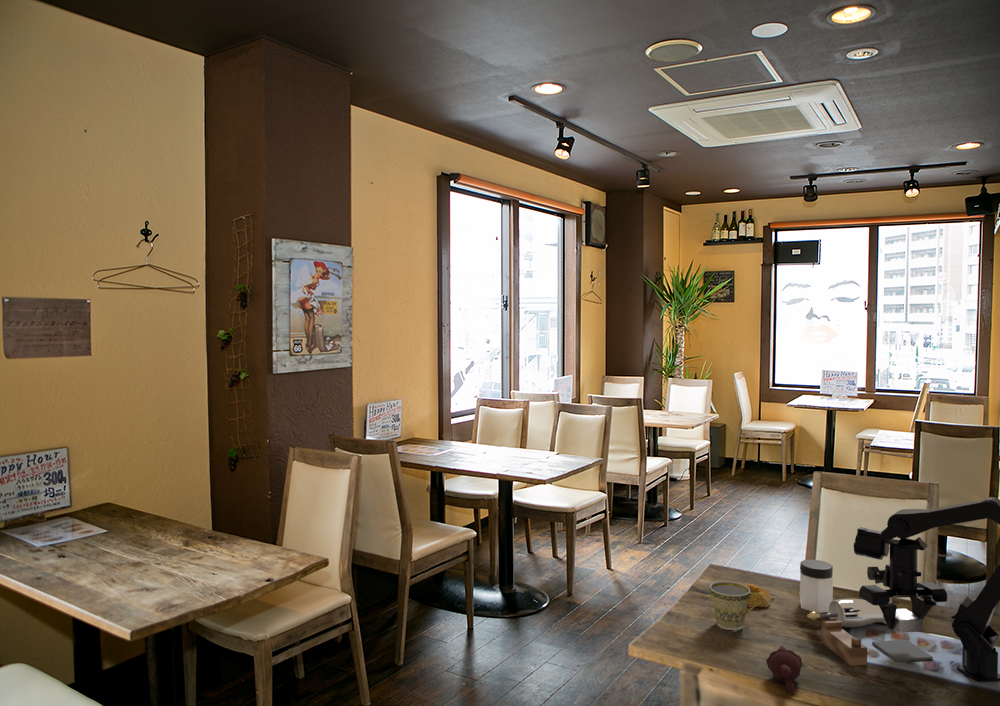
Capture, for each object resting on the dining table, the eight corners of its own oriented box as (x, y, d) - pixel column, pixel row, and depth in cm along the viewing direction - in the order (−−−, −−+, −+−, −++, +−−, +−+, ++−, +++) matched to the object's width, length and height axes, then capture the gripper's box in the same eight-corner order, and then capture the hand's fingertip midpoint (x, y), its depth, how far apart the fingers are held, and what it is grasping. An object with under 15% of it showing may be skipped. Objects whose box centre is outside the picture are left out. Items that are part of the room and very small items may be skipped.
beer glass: (900, 610, 179) (848, 613, 177) (891, 631, 182) (839, 634, 180) (883, 591, 186) (832, 593, 183) (874, 610, 188) (824, 613, 186)
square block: (922, 631, 165) (922, 618, 165) (899, 632, 164) (899, 620, 164) (905, 620, 171) (905, 608, 171) (882, 622, 170) (883, 609, 170)
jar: (798, 599, 200) (799, 557, 199) (830, 602, 197) (831, 560, 196) (800, 611, 191) (801, 568, 191) (833, 615, 188) (834, 571, 188)
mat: (932, 659, 164) (932, 656, 164) (896, 661, 163) (896, 659, 163) (906, 641, 173) (906, 639, 173) (872, 644, 172) (872, 641, 172)
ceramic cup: (710, 632, 179) (710, 593, 179) (708, 616, 189) (708, 579, 188) (764, 637, 176) (765, 598, 175) (759, 620, 186) (760, 583, 185)
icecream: (761, 634, 164) (765, 670, 149) (794, 630, 161) (802, 666, 147) (768, 662, 164) (774, 701, 150) (802, 658, 162) (810, 697, 147)
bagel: (760, 612, 191) (760, 595, 191) (723, 601, 199) (723, 584, 199) (777, 603, 198) (777, 586, 198) (741, 592, 206) (741, 576, 206)
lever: (838, 619, 173) (837, 610, 173) (822, 620, 172) (820, 611, 173) (820, 619, 181) (818, 611, 182) (804, 620, 181) (802, 611, 181)
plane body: (867, 664, 162) (867, 640, 161) (850, 665, 161) (850, 641, 161) (837, 641, 173) (837, 618, 173) (821, 642, 173) (821, 619, 173)
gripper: (916, 551, 176) (916, 613, 176) (846, 554, 174) (845, 617, 174) (949, 566, 165) (948, 632, 165) (874, 570, 163) (873, 636, 163)
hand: (902, 628), depth 167 cm, fingers closed on square block, 6 cm apart
